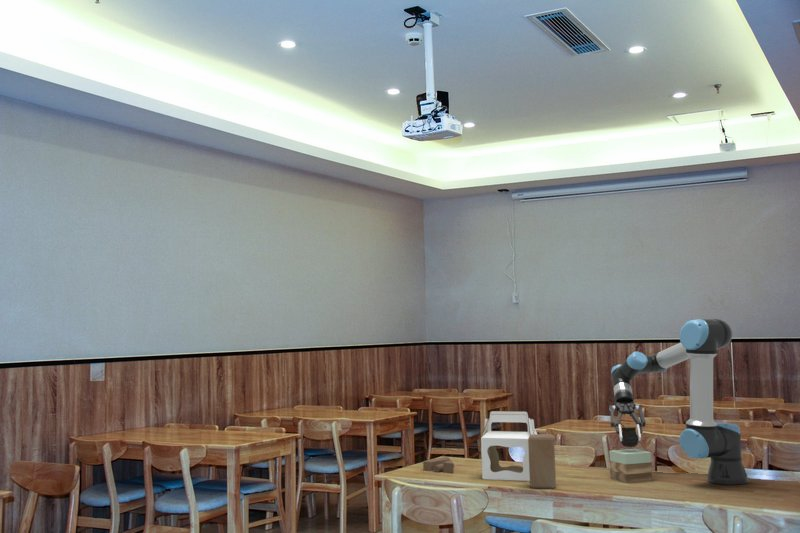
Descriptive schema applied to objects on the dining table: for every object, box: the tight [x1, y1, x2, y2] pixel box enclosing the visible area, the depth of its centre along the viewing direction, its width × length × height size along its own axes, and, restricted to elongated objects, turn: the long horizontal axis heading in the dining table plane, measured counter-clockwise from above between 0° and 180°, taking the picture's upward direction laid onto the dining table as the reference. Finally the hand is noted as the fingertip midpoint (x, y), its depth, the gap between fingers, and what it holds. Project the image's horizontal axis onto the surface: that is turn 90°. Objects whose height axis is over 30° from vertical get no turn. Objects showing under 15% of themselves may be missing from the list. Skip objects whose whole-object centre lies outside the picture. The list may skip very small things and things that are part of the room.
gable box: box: [480, 410, 538, 482], centre depth 351 cm, size 22×13×28 cm, turn 68°
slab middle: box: [609, 460, 653, 474], centre depth 337 cm, size 12×12×4 cm
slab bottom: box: [609, 469, 653, 484], centre depth 337 cm, size 12×12×4 cm
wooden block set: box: [422, 456, 455, 474], centre depth 376 cm, size 17×6×18 cm
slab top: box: [608, 448, 653, 464], centre depth 338 cm, size 12×12×4 cm
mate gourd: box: [619, 421, 639, 448], centre depth 339 cm, size 7×8×10 cm
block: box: [528, 433, 557, 489], centre depth 328 cm, size 10×10×20 cm
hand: (630, 438), depth 335 cm, fingers closed on mate gourd, 7 cm apart
